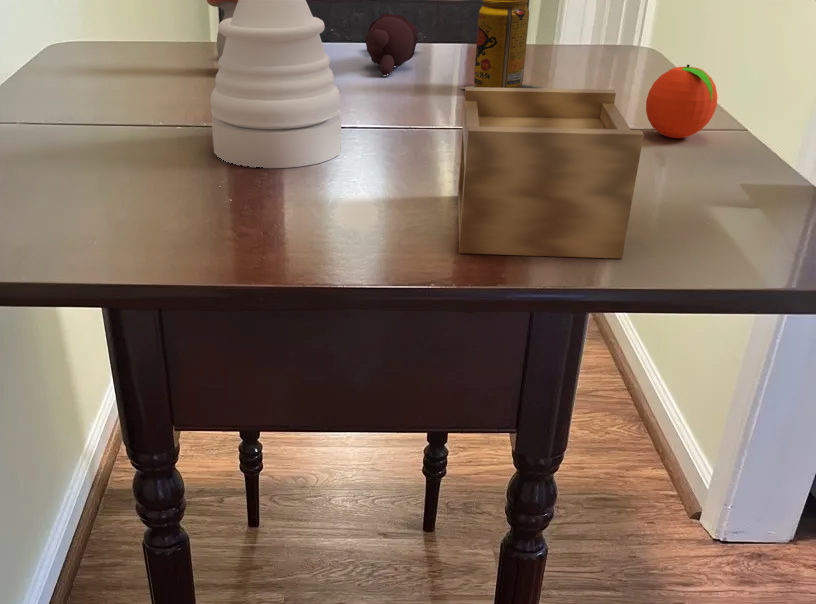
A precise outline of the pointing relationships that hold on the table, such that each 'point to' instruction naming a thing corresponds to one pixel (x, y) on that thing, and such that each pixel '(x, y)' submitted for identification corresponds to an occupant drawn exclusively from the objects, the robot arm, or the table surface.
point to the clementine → (681, 102)
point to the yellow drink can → (501, 44)
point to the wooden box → (545, 173)
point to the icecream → (391, 41)
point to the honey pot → (275, 88)
